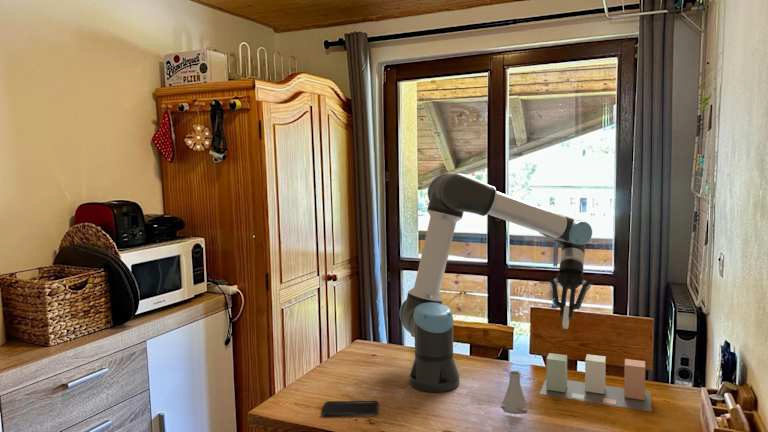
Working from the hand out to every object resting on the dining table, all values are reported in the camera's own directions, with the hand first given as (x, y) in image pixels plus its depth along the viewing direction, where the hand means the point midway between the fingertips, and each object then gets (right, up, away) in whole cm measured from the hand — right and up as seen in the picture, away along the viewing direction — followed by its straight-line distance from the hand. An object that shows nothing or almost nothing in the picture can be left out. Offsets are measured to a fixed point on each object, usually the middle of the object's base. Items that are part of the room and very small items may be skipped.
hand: (565, 326), depth 163 cm
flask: (-21, -18, -21) cm, 35 cm away
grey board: (+3, -17, -16) cm, 24 cm away
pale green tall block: (-7, -15, -13) cm, 21 cm away
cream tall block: (+3, -15, -15) cm, 21 cm away
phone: (-66, -19, -20) cm, 71 cm away
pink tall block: (+12, -15, -19) cm, 27 cm away
